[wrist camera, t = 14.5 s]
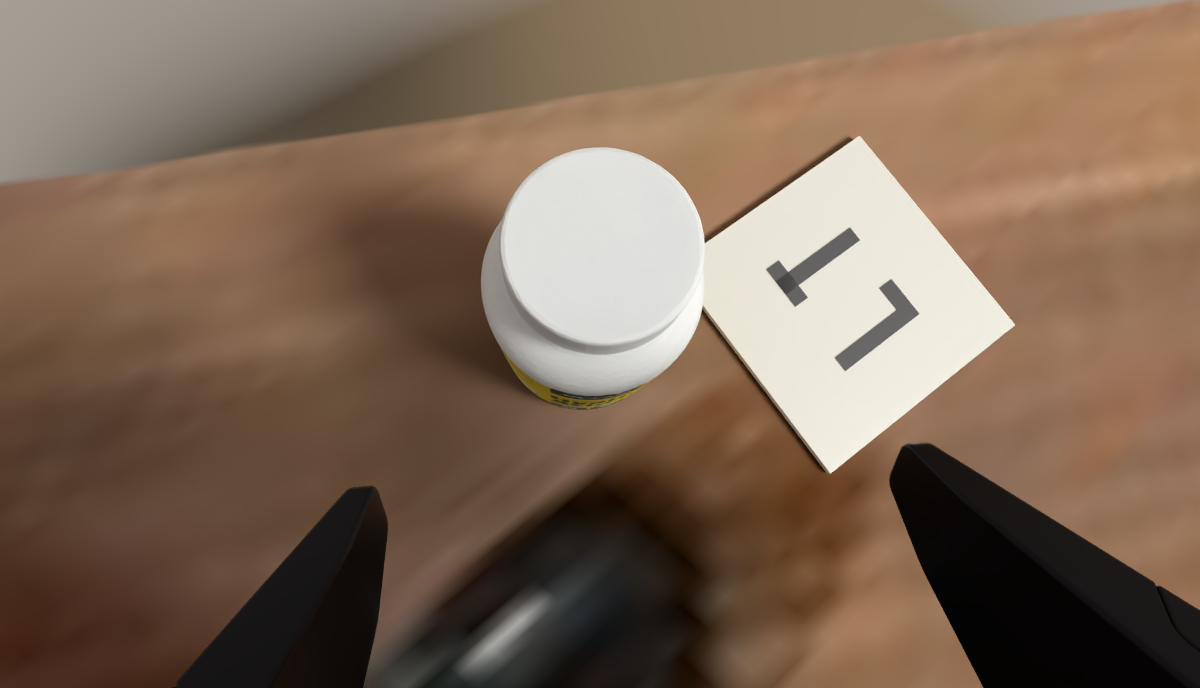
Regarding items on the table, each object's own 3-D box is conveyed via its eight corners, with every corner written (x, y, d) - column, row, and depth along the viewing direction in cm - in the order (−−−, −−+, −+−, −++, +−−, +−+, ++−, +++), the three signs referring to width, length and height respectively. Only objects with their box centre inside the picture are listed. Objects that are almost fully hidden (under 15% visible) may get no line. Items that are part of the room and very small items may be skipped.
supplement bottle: (544, 438, 20) (526, 431, 10) (480, 297, 21) (410, 169, 11) (684, 372, 21) (789, 309, 11) (618, 238, 22) (664, 69, 12)
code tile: (1009, 326, 22) (1015, 324, 22) (826, 473, 20) (830, 473, 20) (855, 139, 23) (859, 135, 22) (671, 268, 21) (673, 265, 21)
